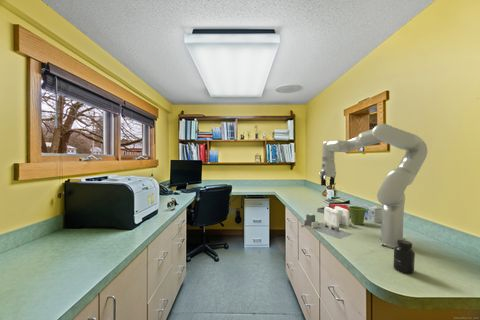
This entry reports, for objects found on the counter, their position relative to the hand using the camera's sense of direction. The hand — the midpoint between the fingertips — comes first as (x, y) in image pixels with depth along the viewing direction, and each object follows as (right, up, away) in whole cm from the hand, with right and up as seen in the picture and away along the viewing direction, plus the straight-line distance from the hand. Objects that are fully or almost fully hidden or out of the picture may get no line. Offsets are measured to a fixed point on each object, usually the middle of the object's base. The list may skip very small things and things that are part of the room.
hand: (327, 185), depth 140 cm
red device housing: (+26, -28, +37) cm, 53 cm away
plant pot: (+24, -29, +8) cm, 39 cm away
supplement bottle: (+9, -29, -53) cm, 61 cm away
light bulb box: (+40, -29, +16) cm, 52 cm away
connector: (-12, -27, -2) cm, 29 cm away
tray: (+26, -28, +37) cm, 53 cm away
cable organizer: (+8, -29, +5) cm, 30 cm away
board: (-5, -28, -9) cm, 30 cm away
